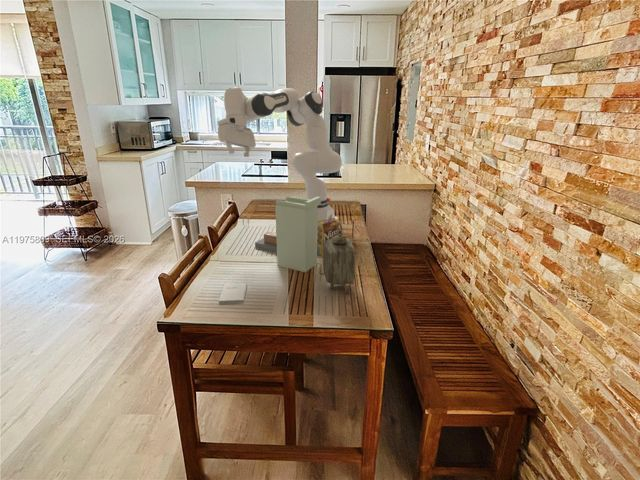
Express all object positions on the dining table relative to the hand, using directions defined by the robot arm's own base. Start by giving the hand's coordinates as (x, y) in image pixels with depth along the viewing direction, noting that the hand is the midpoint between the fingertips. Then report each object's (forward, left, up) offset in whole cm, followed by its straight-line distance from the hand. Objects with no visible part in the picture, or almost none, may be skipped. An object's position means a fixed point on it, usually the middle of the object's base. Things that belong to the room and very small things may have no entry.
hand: (239, 155), depth 165 cm
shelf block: (+11, +36, -41) cm, 56 cm away
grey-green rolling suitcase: (+21, +60, -41) cm, 75 cm away
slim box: (+1, +24, -38) cm, 45 cm away
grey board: (0, +24, -41) cm, 47 cm away
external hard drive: (+43, +30, -42) cm, 67 cm away
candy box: (-6, +42, -41) cm, 59 cm away
